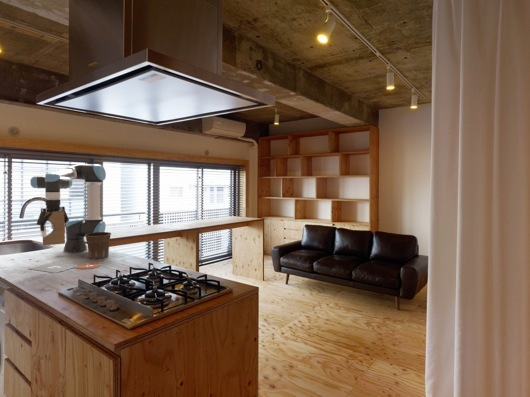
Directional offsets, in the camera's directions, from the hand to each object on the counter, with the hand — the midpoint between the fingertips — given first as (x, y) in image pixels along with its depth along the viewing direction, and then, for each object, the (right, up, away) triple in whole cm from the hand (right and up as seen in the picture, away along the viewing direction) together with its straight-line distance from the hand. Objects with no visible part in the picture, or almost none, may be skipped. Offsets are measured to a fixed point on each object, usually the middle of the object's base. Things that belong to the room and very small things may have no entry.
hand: (53, 234), depth 199 cm
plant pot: (+12, -19, +30) cm, 37 cm away
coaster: (+18, -20, +6) cm, 28 cm away
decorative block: (0, -6, +1) cm, 6 cm away
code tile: (0, -20, +1) cm, 20 cm away
